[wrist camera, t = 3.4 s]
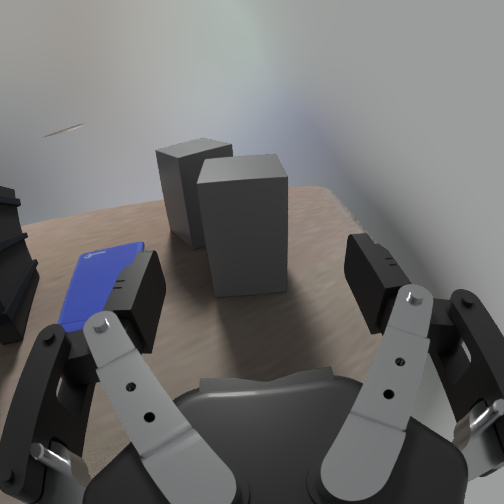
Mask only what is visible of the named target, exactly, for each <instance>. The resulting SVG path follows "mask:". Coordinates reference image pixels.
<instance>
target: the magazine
mask: <svg viewBox="0 0 504 504" xmlns="http://www.w3.org/2000/svg"><path fill="white" fill-rule="evenodd" d="M20 205H21V203H20V199H17V198H15V190H14V189H10V188H6V187H2V186H0V342H1V343H2V344H8V343H12V342H17V341H21V340H22V339H23V336H24V331H25V327H26V323H27V319H28V315H29V311H30V307H31V304H32V300H33V296H34V293H35V290H36V286H37V283H38V280H39V274H38V272H37V269H36V267H37V265H38V262H37V260H36V259H35V260H32V259H31V256H30V254H29V251H28V249H27V246H26V243H25V240H24V239H25V238H27V237H28V235H27V233H22V230H21V226H20V222H19V217H18V211H17V207H18V206H20Z"/></svg>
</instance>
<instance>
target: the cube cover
mask: <svg viewBox="0 0 504 504" xmlns="http://www.w3.org/2000/svg"><path fill="white" fill-rule="evenodd" d="M197 189H198V196H199V203H200V210H201V216H202V223H203V229H204V236H205V242H206V248H207V254H208V260H209V266H210V272H211V277H212V283H213V289H214V294H215V297H229V296H243V295H256V294H268V293H280V292H287V253H288V176H287V174H286V172H285V170H284V168H283V166H282V165H281V163H280V161H279V159H278V157H277V155H276V154H266V155H250V156H237V157H223V158H213V159H205V161H204V164H203V167H202V169H201V172H200V175H199V178H198V181H197Z"/></svg>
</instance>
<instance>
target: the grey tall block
mask: <svg viewBox="0 0 504 504" xmlns="http://www.w3.org/2000/svg"><path fill="white" fill-rule="evenodd" d="M156 157H157V163H158V168H159V174H160V180H161V186H162V191H163V196H164V201H165V206H166V211H167V216H168V221H169V225H170V230H171V231H172V232H173V233H175V234H176V235H177V236H178V237H179V238H180V239H181V240H183V241H184V242H185V243H186V244H187V245H188V246H189V247H191V248H192V249H193V250H194V249H197V248H199V247H201V246H204V245H206V242H205V236H204V229H203V223H202V216H201V210H200V203H199V196H198V189H197V181H198V178H199V175H200V172H201V169H202V167H203V164H204V161H205V159H213V158H223V157H233V150H232V144H229V143H225V142H220V141H215V140H211V139H206V138H200V139H196V140H192V141H188V142H185V143H180V144H176V145H172V146H169V147H165V148H161V149H158V150H156Z"/></svg>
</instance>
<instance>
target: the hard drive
mask: <svg viewBox="0 0 504 504" xmlns="http://www.w3.org/2000/svg"><path fill="white" fill-rule="evenodd" d="M145 249H146V248H145V245H144V242H134V243H130V244H125V245H120V246H116V247H111V248H107V249H102V250H97V251H93V252H89V253H85V254H82V255H80V257H79V260H78V262H77V265H76V268H75V271H74V274H73V276H72V279H71V282H70V285H69V288H68V291H67V294H66V297H65V300H64V304H63V307H62V310H61V314H60V318H59V321H58V324H59V325H61V326H62V327H63V328H64V329H65V331H66V333H69V332H73V331H77V330H80V329H83V328H84V324H85V323H86V321H87V320H88V319H89V318H90V317H91V316H92V315H94V314H96V313H98V312H101V311H102V310H103V308H104V306H105V304H106V301H107V299H108V297H109V295H110V292H111V290H112V289H113V286H114V284H115V282H116V279H117V277H118V275H119V273H120V272H121V271H122V270H123V269H124V268H125V267H126V266H127V265H128V264H132V263H133V261H134V259H135V257H136V254H137V253H138V252H143V251H145Z"/></svg>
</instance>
